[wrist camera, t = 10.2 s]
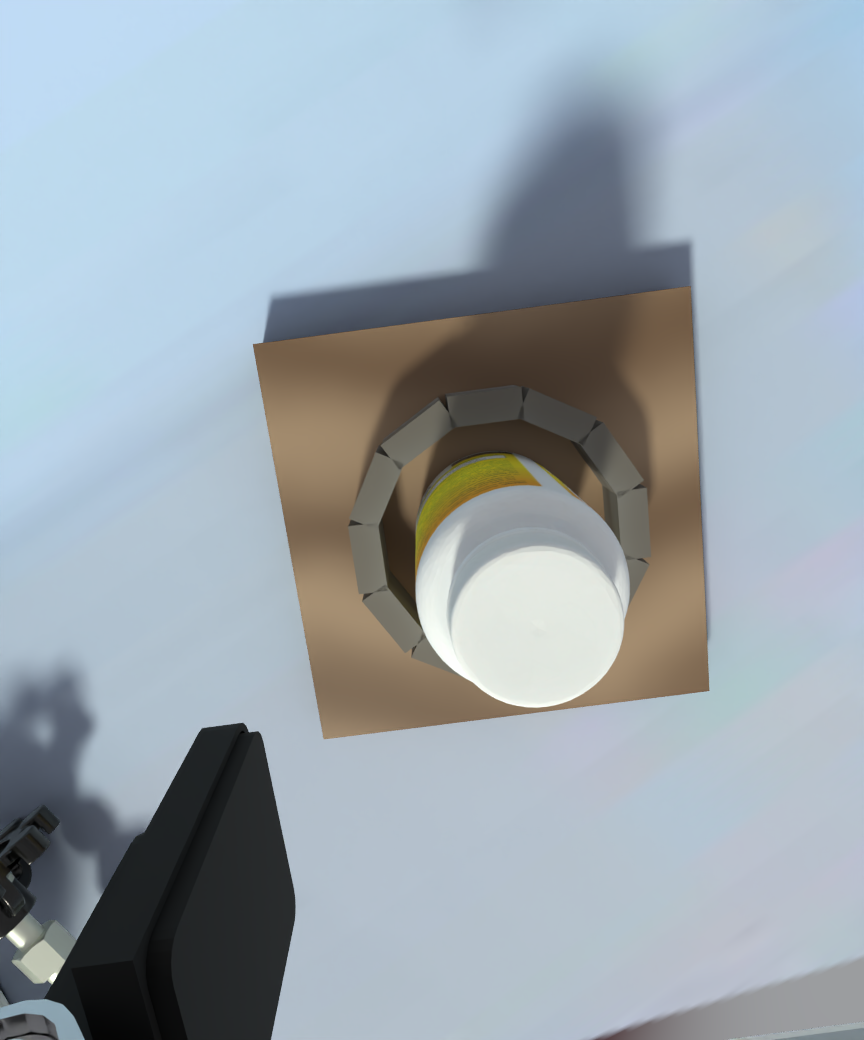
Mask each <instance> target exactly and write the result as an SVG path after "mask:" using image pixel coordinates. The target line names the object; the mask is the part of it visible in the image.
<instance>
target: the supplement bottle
mask: <svg viewBox="0 0 864 1040" xmlns="http://www.w3.org/2000/svg"><path fill="white" fill-rule="evenodd" d="M415 581H416V584H415V588H416V604H417V610H418V615H419V619H420V623H421V625H422V628H423V631H424V633H425V635H426V637H427V639H428V641H429V643H430V644H431V646H432V647H433V649H434V650H435V651H436V653H437V654H438V655H439V657H440V658H441V659H442V660H443V661H444V662H445V663H446V664H447V665H448V666H449V667H450V668H452V669H453V670H454V671H455V672H457V673H458V674H460V675H461V676H463V677H464V678H466V679H468V680H469V681H471V682H473V683H474V684H475V685H476V686H478V687H479V688H480V689H481V690H482V691H484V692H485V693H487V694H488V695H490V696H492V697H494V698H495V699H498V700H500V701H502V702H505V703H507V704H512V705H516V706H522V707H535V708H539V707H548V706H553V705H558V704H561V703H564V702H567V701H570V700H572V699H574V698H576V697H578V696H580V695H582V694H583V693H585V692H586V691H588V690H589V689H590V688H592V687H593V686H594V685H595V684H596V683H598V682H599V681H600V680H601V678H602V677H603V676H604V675H605V674H606V673H607V671H608V670H609V668H610V667H611V665H612V664H613V662H614V661H615V659H616V656H617V654H618V652H619V649H620V646H621V643H622V639H623V633H624V619H625V616H626V613H627V609H628V604H629V597H630V581H629V572H628V566H627V562H626V559H625V556H624V553H623V550H622V548H621V546H620V543H619V541H618V540H617V538H616V536H615V535H614V533H613V532H612V530H611V529H610V527H609V526H608V525H607V524H606V522H605V521H604V520H603V519H602V518H601V517H600V516H599V514H598V513H597V512H595V511H594V510H593V509H592V508H591V507H590V506H589V505H588V504H586V503H585V502H584V501H583V500H582V499H581V498H579V497H578V496H577V495H576V494H575V493H574V492H573V491H572V490H571V489H570V488H568V487H567V486H566V485H565V484H563V483H562V482H561V481H560V480H559V479H558V478H557V477H555V476H554V475H553V474H552V473H550V472H549V471H548V470H547V469H546V468H544V467H543V466H541V465H540V464H538V463H537V462H535V461H533V460H531V459H529V458H527V457H525V456H522V455H519V454H516V453H511V452H505V451H486V452H480V453H476V454H472V455H469V456H466V457H464V458H461V459H459V460H457V461H456V462H454V463H452V464H451V465H449V466H448V467H446V468H445V469H444V470H443V471H442V472H441V473H440V474H439V475H438V476H437V477H436V478H435V479H434V480H433V482H432V483H431V484H430V486H429V487H428V489H427V490H426V492H425V494H424V496H423V498H422V501H421V503H420V506H419V510H418V514H417V519H416V551H415Z"/></svg>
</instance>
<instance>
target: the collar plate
mask: <svg viewBox="0 0 864 1040" xmlns="http://www.w3.org/2000/svg"><path fill="white" fill-rule="evenodd" d="M253 348H254V353H255V359H256V365H257V370H258V376H259V381H260V387H261V392H262V398H263V404H264V409H265V415H266V420H267V426H268V431H269V437H270V443H271V448H272V454H273V459H274V465H275V470H276V476H277V482H278V487H279V493H280V498H281V504H282V509H283V515H284V521H285V526H286V532H287V537H288V543H289V548H290V554H291V560H292V565H293V571H294V576H295V582H296V587H297V593H298V598H299V604H300V610H301V615H302V621H303V626H304V632H305V637H306V643H307V649H308V654H309V660H310V665H311V671H312V676H313V682H314V688H315V693H316V699H317V704H318V710H319V715H320V721H321V727H322V732H323V738H324V739H330V738H338V737H346V736H354V735H362V734H370V733H378V732H386V731H394V730H402V729H410V728H418V727H426V726H434V725H442V724H450V723H458V722H466V721H474V720H481V719H489V718H497V717H505V716H513V715H521V714H529V713H537V712H545V711H553V710H561V709H569V708H577V707H585V706H593V705H601V704H609V703H617V702H625V701H633V700H641V699H649V698H657V697H664V696H672V695H680V694H688V693H696V692H704V691H709V673H708V651H707V630H706V608H705V586H704V565H703V543H702V521H701V500H700V478H699V457H698V435H697V413H696V392H695V370H694V348H693V327H692V305H691V286H688V287H680V288H673V289H665V290H658V291H650V292H643V293H635V294H628V295H620V296H612V297H605V298H597V299H590V300H582V301H575V302H567V303H560V304H552V305H545V306H537V307H530V308H522V309H515V310H507V311H500V312H492V313H485V314H477V315H470V316H462V317H455V318H447V319H440V320H432V321H424V322H417V323H409V324H402V325H394V326H387V327H379V328H372V329H364V330H357V331H349V332H342V333H334V334H327V335H319V336H312V337H304V338H297V339H289V340H282V341H274V342H267V343H259V344H253ZM486 451H505V452H511V453H516V454H519V455H522V456H525V457H527V458H529V459H531V460H533V461H535V462H537V463H538V464H540V465H541V466H543V467H544V468H546V469H547V470H548V471H549V472H550V473H552V474H553V475H554V476H555V477H557V478H558V479H559V480H560V481H561V482H562V483H563V484H565V485H566V486H567V487H568V488H570V489H571V490H572V491H573V492H574V493H575V494H576V495H577V496H578V497H579V498H581V499H582V500H583V501H584V502H585V503H586V504H588V505H589V506H590V507H591V508H592V509H593V510H594V511H595V512H597V513H598V514H599V516H600V517H601V518H602V519H603V520H604V521H605V522H606V524H607V525H608V526H609V527H610V529H611V530H612V532H613V533H614V535H615V536H616V538H617V540H618V541H619V543H620V546H621V548H622V550H623V553H624V556H625V559H626V562H627V566H628V572H629V581H630V597H629V604H628V609H627V613H626V616H625V619H624V633H623V639H622V643H621V646H620V649H619V652H618V654H617V656H616V659H615V661H614V662H613V664H612V665H611V667H610V668H609V670H608V671H607V673H606V674H605V675H604V676H603V677H602V678H601V680H600V681H599V682H598V683H596V684H595V685H594V686H593V687H592V688H590V689H589V690H588V691H586V692H585V693H583V694H582V695H580V696H578V697H576V698H574V699H572V700H570V701H567V702H564V703H561V704H558V705H553V706H548V707H539V708H535V707H522V706H516V705H512V704H507V703H505V702H502V701H500V700H498V699H495V698H494V697H492V696H490V695H488V694H487V693H485V692H484V691H482V690H481V689H480V688H479V687H478V686H476V685H475V684H474V683H473V682H471V681H469V680H468V679H466V678H464V677H463V676H461V675H460V674H458V673H457V672H455V671H454V670H453V669H452V668H450V667H449V666H448V665H447V664H446V663H445V662H444V661H443V660H442V659H441V658H440V657H439V655H438V654H437V653H436V651H435V650H434V649H433V647H432V646H431V644H430V643H429V641H428V639H427V637H426V635H425V633H424V631H423V628H422V625H421V623H420V619H419V615H418V610H417V604H416V588H415V584H416V581H415V551H416V519H417V514H418V510H419V506H420V503H421V501H422V498H423V496H424V494H425V492H426V490H427V489H428V487H429V486H430V484H431V483H432V482H433V480H434V479H435V478H436V477H437V476H438V475H439V474H440V473H441V472H442V471H443V470H444V469H445V468H446V467H448V466H449V465H451V464H452V463H454V462H456V461H457V460H459V459H461V458H464V457H466V456H469V455H472V454H476V453H480V452H486Z"/></svg>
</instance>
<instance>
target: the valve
mask: <svg viewBox="0 0 864 1040" xmlns="http://www.w3.org/2000/svg"><path fill="white" fill-rule="evenodd" d="M59 823H60V820H59V819H58V818H57V817H56V816H55V815H54V814H53V813H52V812H51V811H50V810H49V809H48V808H47V807H46V806H45V805H42V806H40V807H38V808H37V809H35V810H34V811H33V812H32V813H31V814H29V815H28V816H27V817H26V818H25V819H24V820H23V821H22V820H21V819H20V818H17V819H15V820H14V821H12V822H11V823H10V824H9V825H7V826H6V827H5V828H4V829H3V830H2V831H1V832H0V940H1V939H2V938H4V937H6V938H8V939H9V940H10V941H11V942H12V943H13V944H14V945H15V946H16V947H17V948H18V950H17V951H16V953H15V955H14V957H13V959H12V963H13V964H14V965H15V966H16V967H17V968H19V969H20V970H21V971H22V972H23V973H24V974H25V975H26V976H27V977H28V978H29V979H30V980H31V981H32V982H33V983H45V982H46V981H48V982H50V983H51V984H53V982H54V980H55V979H56V977H57V975H58V973H59V971H60V970H61V968H62V966H63V964H64V962H65V961H66V959H67V957H68V955H69V954H70V952H71V950H72V948H73V946H74V945H75V943H76V941H77V940H76V939H75V938H74V937H73V936H72V935H71V934H69V933H68V932H67V931H66V930H65V929H64V928H63V927H62V926H61V925H60V924H59V923H58V922H57V921H56V920H48V921H46V922H45V923H43V924H42V925H41V924H40V923H39V922H38V921H37V920H36V919H35V918H34V917H32V916H31V915H30V914H29V911H30V910H31V909H32V907H33V906H34V904H35V902H36V897H35V896H34V895H33V894H32V893H31V892H30V891H29V890H28V889H27V888H28V887H29V884H30V882H31V876H32V873H31V866H30V864H32V863H33V862H34V861H35V860H37V859H38V858H39V857H40V856H41V855H42V854H43V853H44V852H45V851H46V849H47V848H48V847H49V845H50V841H49V840H48V839H47V838H46V837H45V836H44V835H43V834H42V833H41V832H40V831H39V829H40V828H41V829H42V830H43V831H44V832H47V833H48V834H51V833H52V832H53V831H54V830H55V828H56V827H57V826H58V825H59ZM10 871H11V872H12V873H11V872H10Z"/></svg>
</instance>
